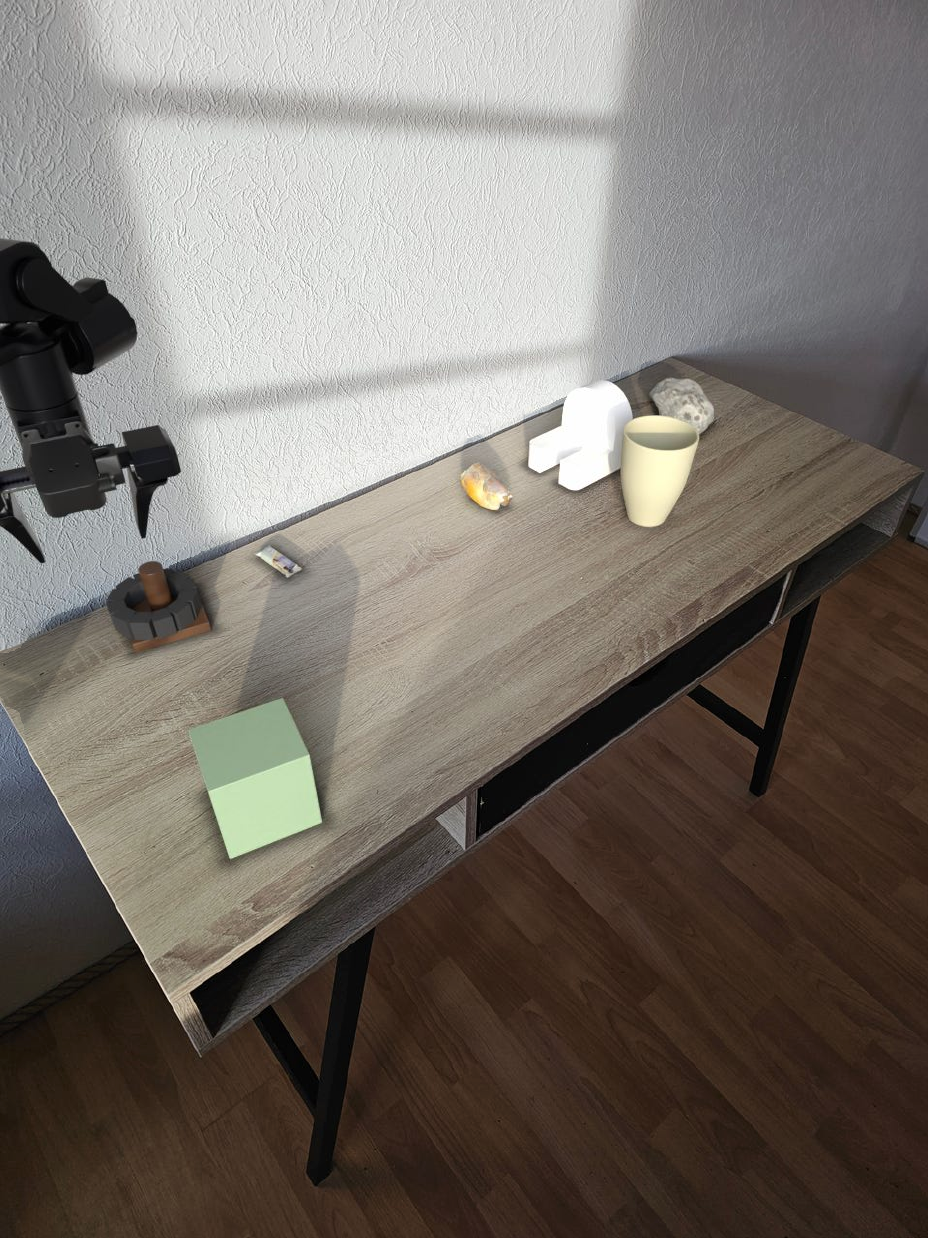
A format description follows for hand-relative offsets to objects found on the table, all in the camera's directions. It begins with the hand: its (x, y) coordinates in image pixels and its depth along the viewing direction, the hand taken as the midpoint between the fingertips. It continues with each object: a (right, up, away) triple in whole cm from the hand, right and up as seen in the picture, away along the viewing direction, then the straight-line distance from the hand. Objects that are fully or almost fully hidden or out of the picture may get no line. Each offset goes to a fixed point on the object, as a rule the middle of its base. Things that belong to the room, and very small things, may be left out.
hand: (93, 548), depth 79 cm
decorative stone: (+69, +24, +48) cm, 88 cm away
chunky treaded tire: (+2, -6, +10) cm, 12 cm away
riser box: (+19, -23, -8) cm, 31 cm away
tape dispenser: (+54, +16, +39) cm, 69 cm away
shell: (+39, +8, +29) cm, 50 cm away
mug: (+59, +7, +28) cm, 66 cm away
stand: (+3, -7, +11) cm, 13 cm away
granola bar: (+14, 0, +19) cm, 23 cm away
